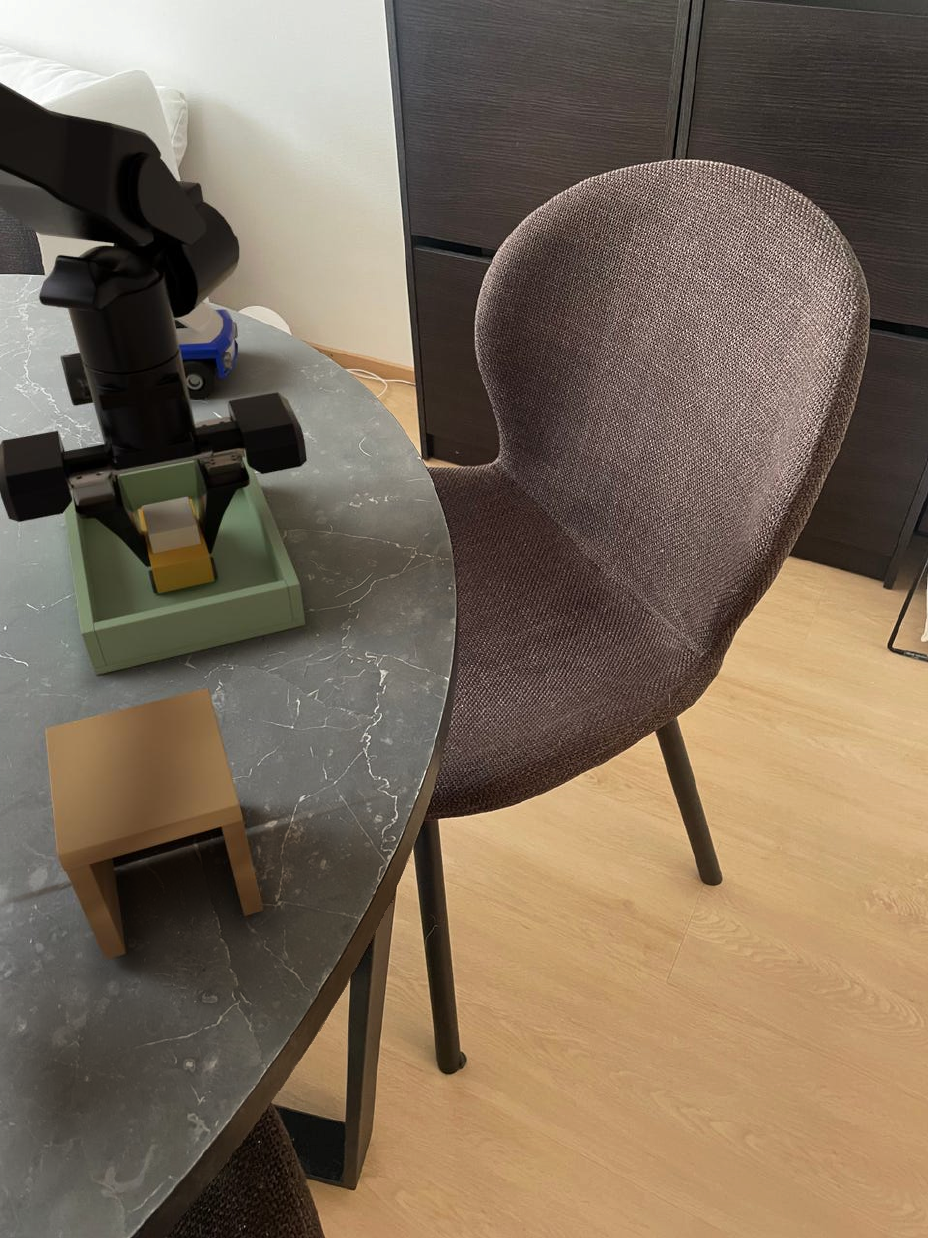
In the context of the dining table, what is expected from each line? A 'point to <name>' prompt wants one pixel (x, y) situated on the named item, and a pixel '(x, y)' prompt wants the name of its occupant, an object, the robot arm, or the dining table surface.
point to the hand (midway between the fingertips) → (178, 556)
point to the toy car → (206, 347)
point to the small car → (175, 546)
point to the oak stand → (141, 798)
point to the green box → (188, 617)
